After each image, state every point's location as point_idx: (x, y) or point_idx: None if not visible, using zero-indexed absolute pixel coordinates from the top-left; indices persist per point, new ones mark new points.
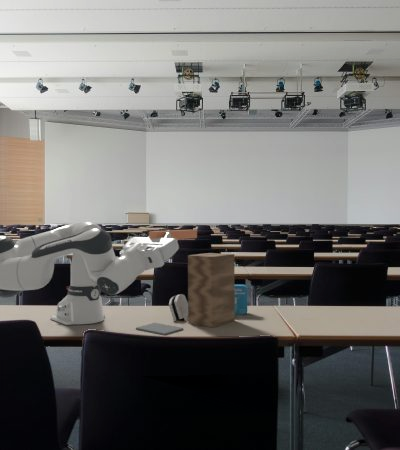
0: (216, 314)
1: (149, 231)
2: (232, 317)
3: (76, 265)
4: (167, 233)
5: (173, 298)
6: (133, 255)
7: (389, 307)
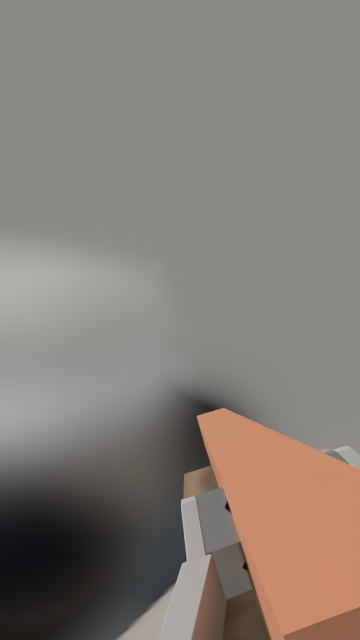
0: None
1: (301, 630)
2: None
3: None
4: (357, 463)
5: None
6: None
7: (323, 451)
